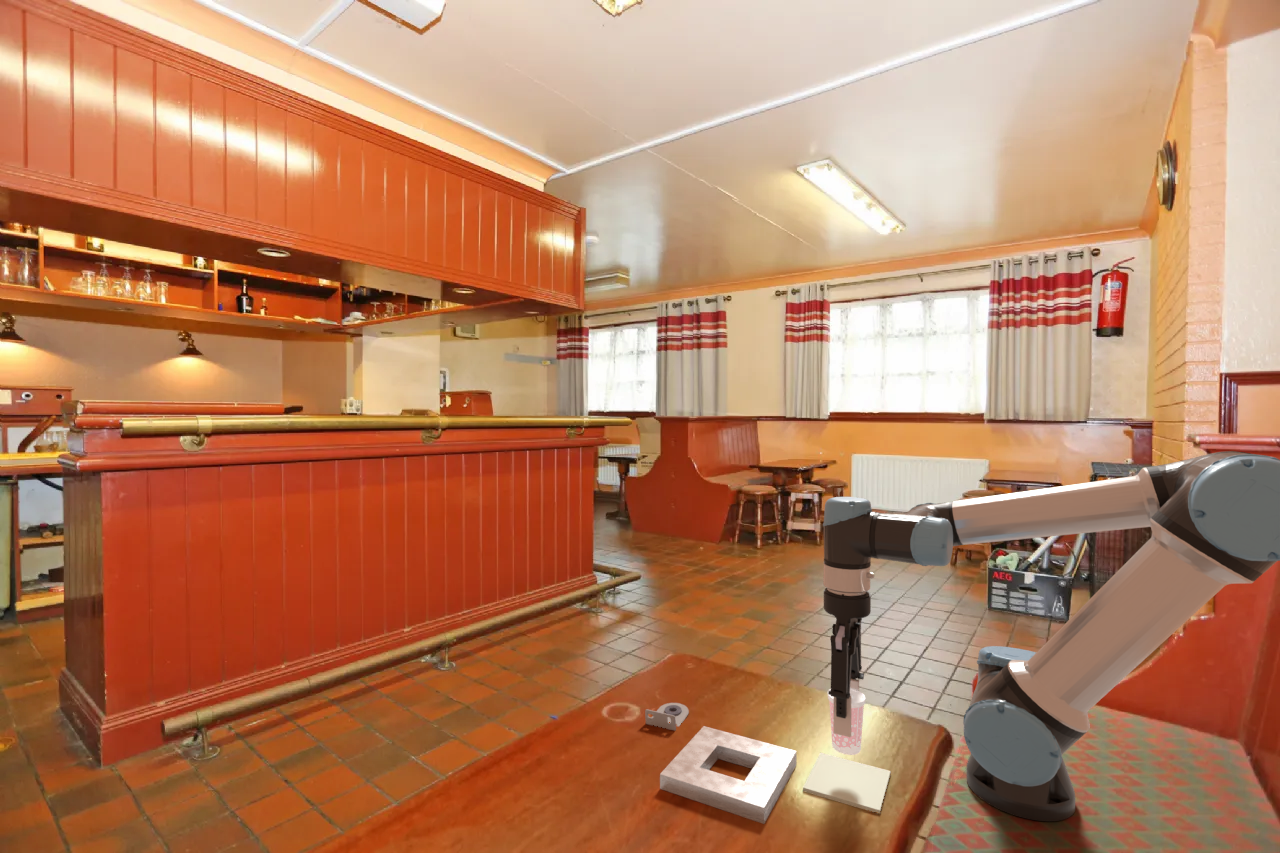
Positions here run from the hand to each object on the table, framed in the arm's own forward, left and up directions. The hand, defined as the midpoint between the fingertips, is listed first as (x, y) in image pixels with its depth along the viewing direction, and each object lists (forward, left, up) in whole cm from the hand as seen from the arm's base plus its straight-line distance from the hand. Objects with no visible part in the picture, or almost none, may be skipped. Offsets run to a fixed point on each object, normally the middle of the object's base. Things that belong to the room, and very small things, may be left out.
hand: (846, 724), depth 102 cm
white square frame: (+18, +8, -10) cm, 22 cm away
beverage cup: (0, 0, -4) cm, 4 cm away
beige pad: (0, 0, -10) cm, 10 cm away
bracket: (+37, -5, -11) cm, 39 cm away
